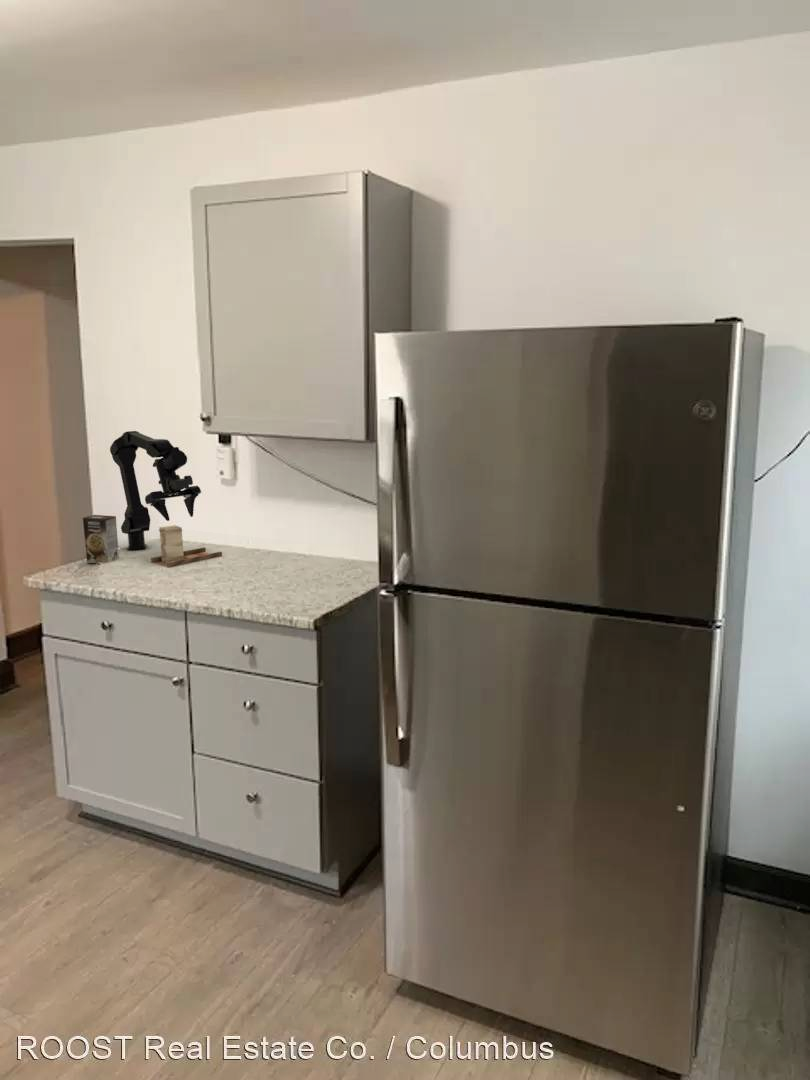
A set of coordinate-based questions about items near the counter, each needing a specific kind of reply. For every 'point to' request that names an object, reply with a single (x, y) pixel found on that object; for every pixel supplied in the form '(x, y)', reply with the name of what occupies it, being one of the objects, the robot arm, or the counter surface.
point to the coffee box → (101, 538)
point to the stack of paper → (171, 543)
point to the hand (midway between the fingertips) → (180, 518)
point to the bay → (188, 557)
